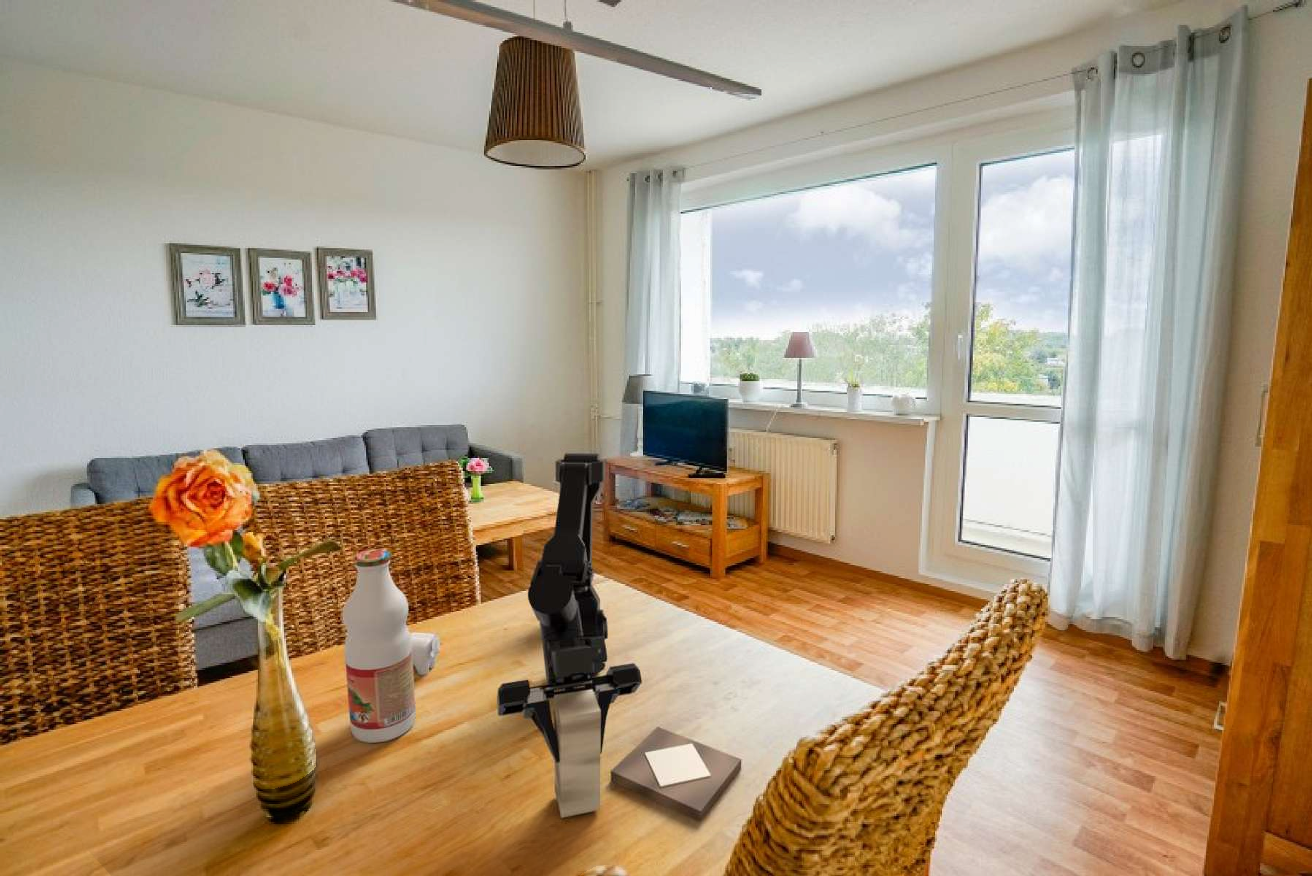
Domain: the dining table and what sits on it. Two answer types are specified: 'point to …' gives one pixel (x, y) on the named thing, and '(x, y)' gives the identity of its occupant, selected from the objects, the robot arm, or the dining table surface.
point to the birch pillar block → (577, 752)
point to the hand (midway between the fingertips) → (579, 758)
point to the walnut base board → (677, 772)
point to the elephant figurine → (424, 651)
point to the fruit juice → (378, 653)
